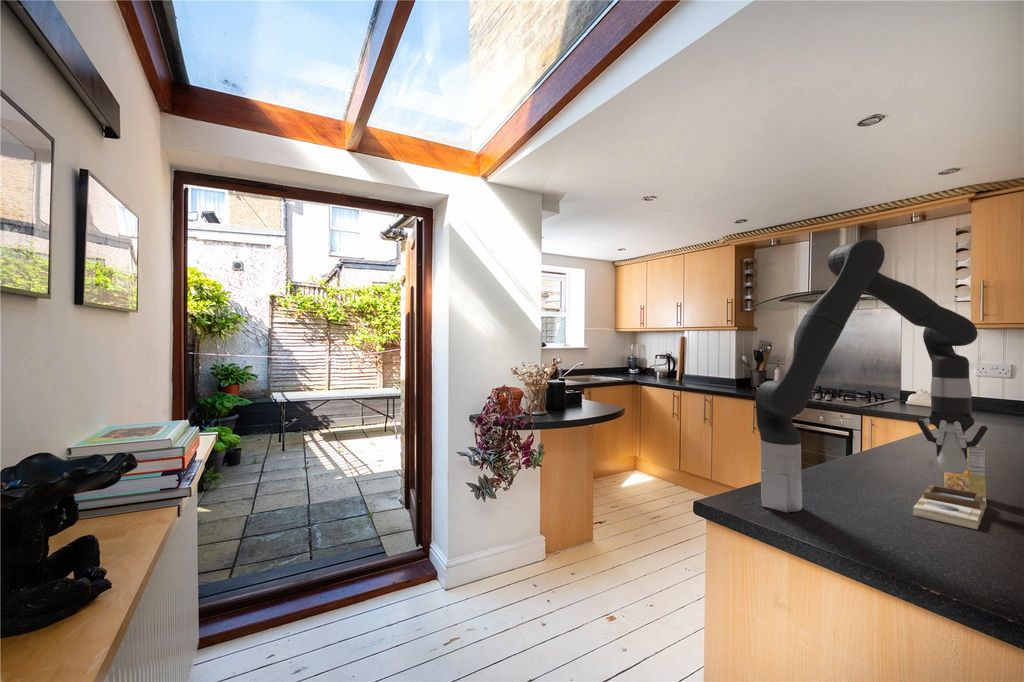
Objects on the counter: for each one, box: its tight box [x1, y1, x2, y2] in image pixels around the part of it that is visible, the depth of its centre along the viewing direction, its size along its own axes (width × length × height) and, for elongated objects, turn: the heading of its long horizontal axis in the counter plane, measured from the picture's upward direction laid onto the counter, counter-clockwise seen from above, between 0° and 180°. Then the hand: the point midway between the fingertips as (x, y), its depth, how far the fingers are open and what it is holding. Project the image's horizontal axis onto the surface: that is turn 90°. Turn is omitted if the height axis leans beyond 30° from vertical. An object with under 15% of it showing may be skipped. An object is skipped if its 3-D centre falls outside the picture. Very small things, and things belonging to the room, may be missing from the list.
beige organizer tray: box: [912, 484, 987, 530], centre depth 111 cm, size 22×11×4 cm, turn 129°
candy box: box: [943, 443, 987, 500], centre depth 122 cm, size 9×4×15 cm, turn 169°
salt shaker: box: [936, 423, 969, 474], centre depth 114 cm, size 6×6×13 cm
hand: (952, 459), depth 114 cm, fingers closed on salt shaker, 3 cm apart
